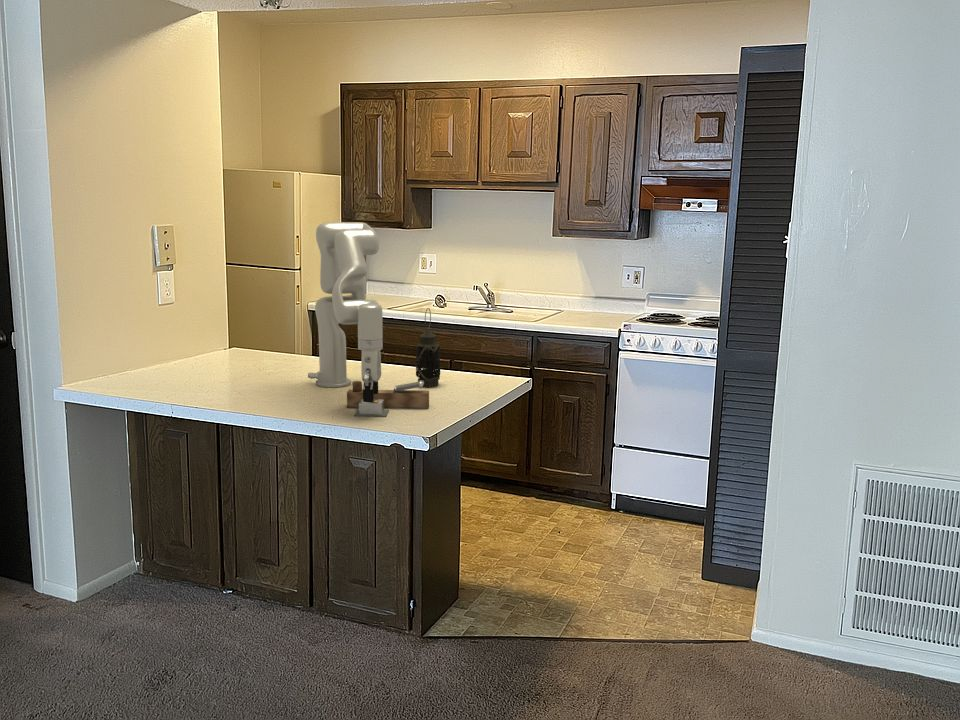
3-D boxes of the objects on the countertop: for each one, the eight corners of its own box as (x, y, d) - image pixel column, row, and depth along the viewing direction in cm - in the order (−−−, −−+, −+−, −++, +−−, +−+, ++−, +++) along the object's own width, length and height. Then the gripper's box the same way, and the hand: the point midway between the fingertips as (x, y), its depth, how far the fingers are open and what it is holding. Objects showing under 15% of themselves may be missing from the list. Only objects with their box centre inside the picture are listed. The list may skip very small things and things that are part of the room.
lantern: (436, 389, 300) (436, 310, 295) (411, 387, 302) (411, 309, 296) (443, 383, 309) (443, 306, 304) (419, 381, 311) (418, 305, 306)
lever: (392, 388, 271) (422, 382, 271) (394, 384, 276) (423, 379, 275) (393, 392, 272) (423, 387, 271) (395, 389, 276) (424, 384, 276)
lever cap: (359, 414, 263) (358, 402, 262) (361, 410, 268) (361, 398, 268) (381, 414, 263) (381, 402, 262) (384, 410, 268) (383, 398, 267)
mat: (353, 416, 262) (353, 415, 262) (357, 410, 269) (357, 409, 269) (386, 417, 262) (386, 415, 262) (389, 411, 269) (389, 410, 269)
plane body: (347, 407, 273) (346, 383, 272) (349, 404, 277) (349, 380, 276) (428, 408, 272) (427, 384, 271) (429, 405, 277) (429, 381, 275)
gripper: (378, 349, 253) (378, 405, 257) (386, 338, 270) (386, 391, 274) (353, 349, 253) (354, 404, 257) (362, 338, 270) (363, 390, 274)
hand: (370, 397), depth 265 cm, fingers open, 9 cm apart
